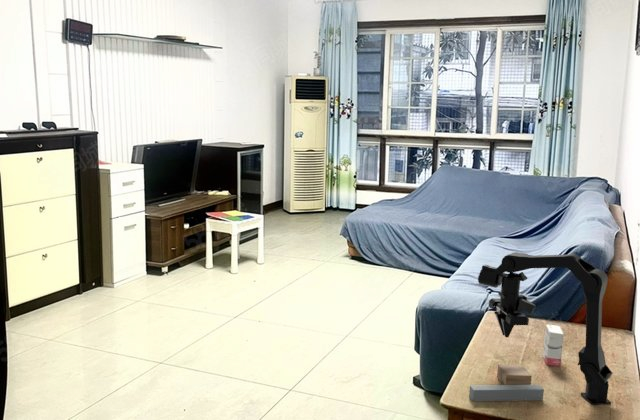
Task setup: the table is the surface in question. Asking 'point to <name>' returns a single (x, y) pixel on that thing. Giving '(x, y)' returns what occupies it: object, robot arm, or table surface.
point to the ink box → (553, 345)
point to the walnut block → (513, 375)
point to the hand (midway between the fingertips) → (505, 336)
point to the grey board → (505, 392)
